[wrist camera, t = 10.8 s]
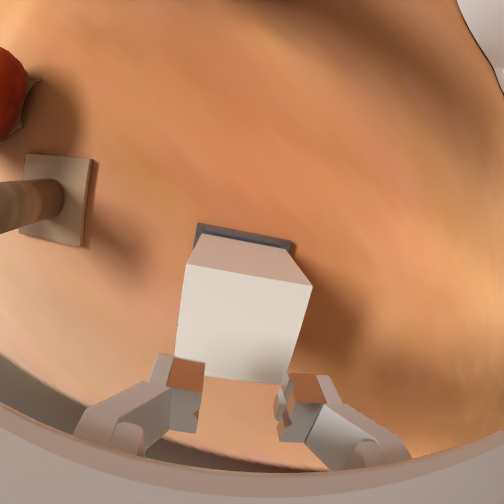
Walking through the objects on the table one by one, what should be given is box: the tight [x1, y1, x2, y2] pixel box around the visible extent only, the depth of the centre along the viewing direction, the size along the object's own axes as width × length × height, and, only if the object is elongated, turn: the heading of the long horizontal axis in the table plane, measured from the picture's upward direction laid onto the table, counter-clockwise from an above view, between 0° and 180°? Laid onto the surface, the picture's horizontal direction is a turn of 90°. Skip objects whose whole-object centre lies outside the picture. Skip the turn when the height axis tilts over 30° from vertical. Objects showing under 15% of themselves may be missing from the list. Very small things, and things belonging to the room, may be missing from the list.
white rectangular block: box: [174, 233, 313, 385], centre depth 16 cm, size 5×5×7 cm
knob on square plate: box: [0, 154, 93, 247], centre depth 14 cm, size 6×6×7 cm
